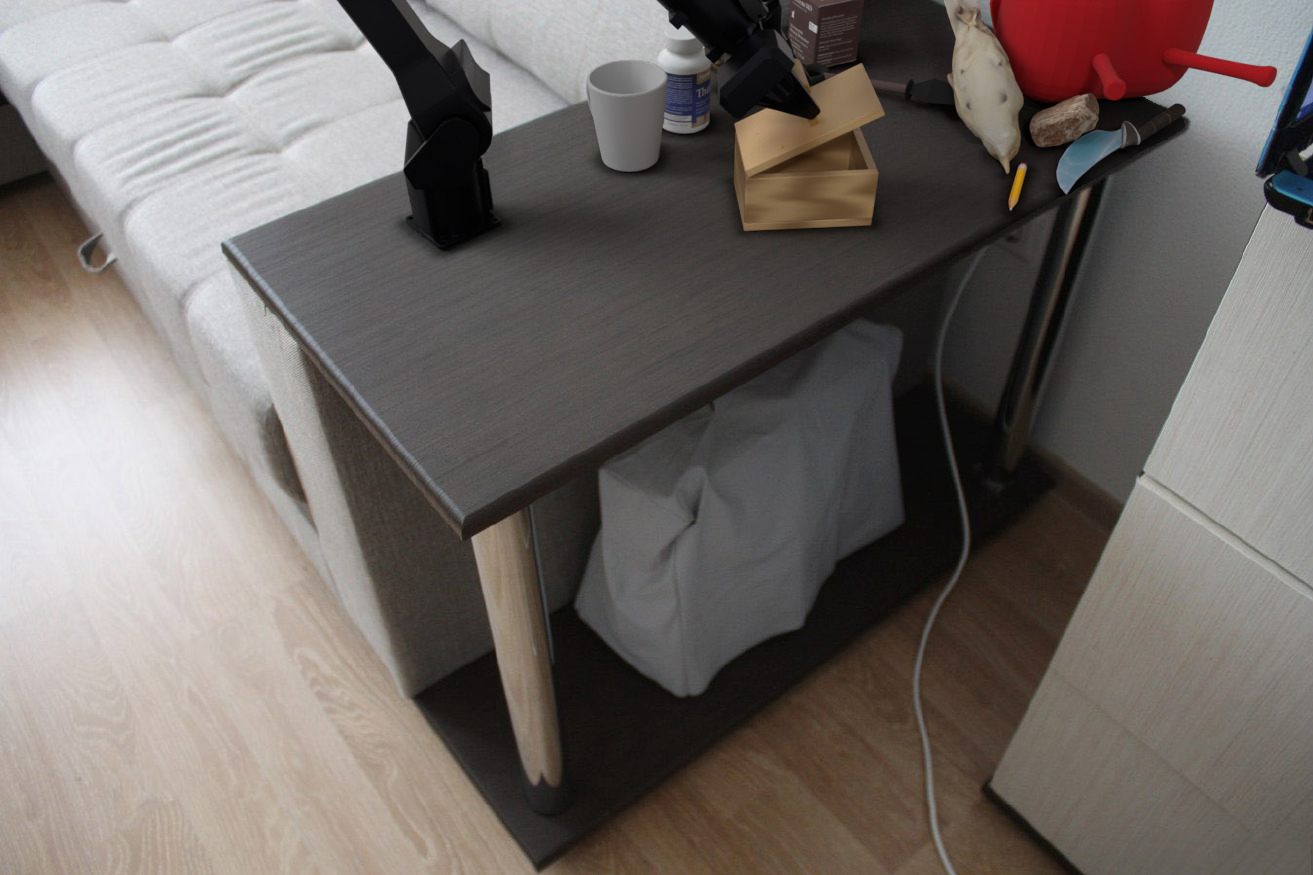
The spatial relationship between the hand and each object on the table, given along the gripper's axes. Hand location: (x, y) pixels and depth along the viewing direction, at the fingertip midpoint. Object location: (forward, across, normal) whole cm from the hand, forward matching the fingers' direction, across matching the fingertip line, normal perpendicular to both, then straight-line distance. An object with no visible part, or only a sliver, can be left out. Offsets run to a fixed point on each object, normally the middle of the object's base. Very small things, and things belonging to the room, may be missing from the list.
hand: (812, 101), depth 89 cm
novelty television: (+25, +34, -17) cm, 45 cm away
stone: (+28, +10, -14) cm, 32 cm away
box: (+12, +32, +3) cm, 34 cm away
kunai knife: (+26, +12, -8) cm, 29 cm away
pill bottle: (0, +16, +15) cm, 22 cm away
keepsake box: (+7, 0, +7) cm, 10 cm away
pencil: (+21, +1, -7) cm, 22 cm away
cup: (-5, +10, +19) cm, 22 cm away
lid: (+1, 0, +2) cm, 2 cm away
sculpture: (+14, +14, -10) cm, 22 cm away
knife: (+28, +11, -14) cm, 33 cm away
